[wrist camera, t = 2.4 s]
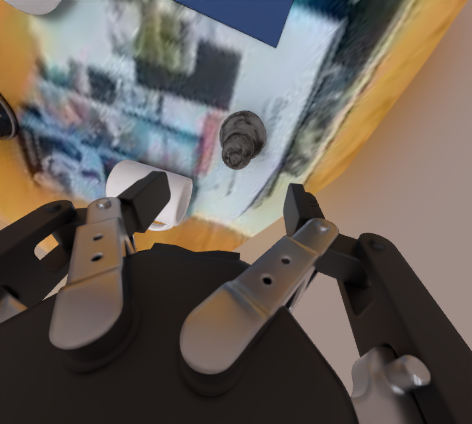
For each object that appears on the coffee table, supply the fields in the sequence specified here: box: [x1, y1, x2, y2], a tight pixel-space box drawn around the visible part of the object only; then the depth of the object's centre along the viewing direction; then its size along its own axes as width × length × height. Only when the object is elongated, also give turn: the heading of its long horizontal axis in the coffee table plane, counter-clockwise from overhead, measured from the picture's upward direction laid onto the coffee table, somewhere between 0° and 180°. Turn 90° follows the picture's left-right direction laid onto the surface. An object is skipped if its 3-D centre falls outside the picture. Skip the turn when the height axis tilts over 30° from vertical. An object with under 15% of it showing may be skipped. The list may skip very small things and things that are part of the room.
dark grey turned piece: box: [220, 111, 266, 170], centre depth 21 cm, size 6×6×12 cm
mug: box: [106, 160, 193, 231], centre depth 30 cm, size 12×10×8 cm
